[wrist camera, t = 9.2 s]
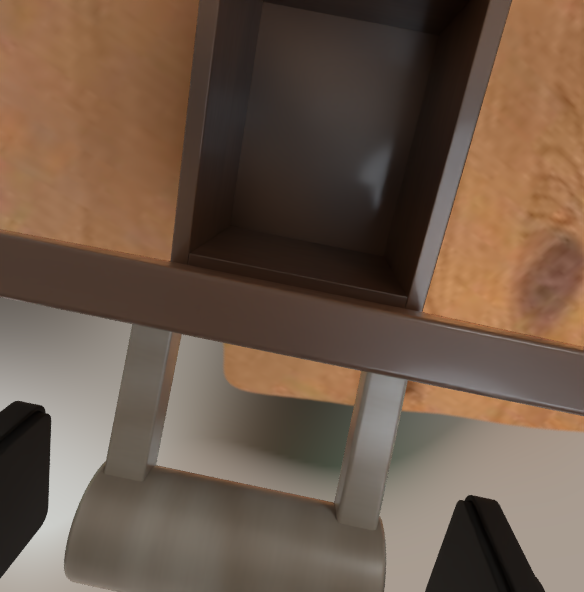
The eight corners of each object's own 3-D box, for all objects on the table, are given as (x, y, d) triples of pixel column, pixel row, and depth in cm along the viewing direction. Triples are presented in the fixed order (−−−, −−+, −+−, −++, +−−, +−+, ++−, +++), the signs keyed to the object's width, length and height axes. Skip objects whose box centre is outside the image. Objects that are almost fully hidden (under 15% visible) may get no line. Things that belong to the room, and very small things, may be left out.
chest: (253, -12, 29) (211, -112, 18) (454, 26, 28) (527, -53, 18) (218, 233, 33) (169, 266, 23) (391, 268, 33) (420, 317, 23)
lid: (-228, 186, 6) (-301, 617, 6) (798, 393, 5) (695, 837, 6) (167, 261, 22) (146, 372, 23) (424, 312, 22) (401, 424, 22)
